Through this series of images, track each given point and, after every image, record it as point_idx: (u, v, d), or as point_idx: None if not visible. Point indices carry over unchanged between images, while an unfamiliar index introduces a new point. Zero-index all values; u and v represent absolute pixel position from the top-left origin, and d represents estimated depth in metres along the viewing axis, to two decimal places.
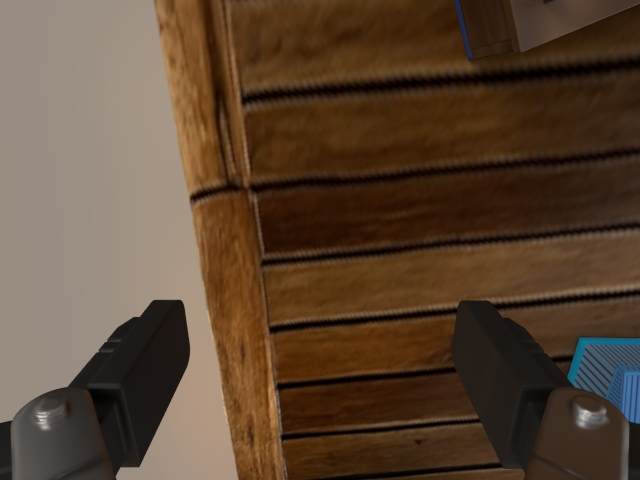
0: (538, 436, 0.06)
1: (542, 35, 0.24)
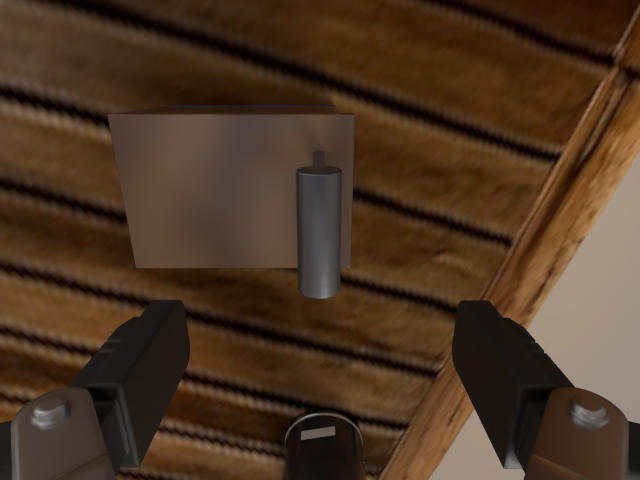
0: (538, 436, 0.06)
1: (330, 122, 0.23)
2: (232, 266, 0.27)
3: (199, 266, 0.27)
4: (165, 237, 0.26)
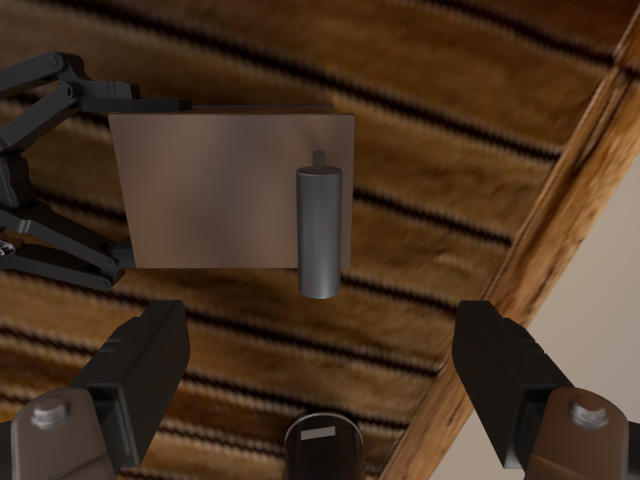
0: (538, 436, 0.06)
1: (331, 122, 0.23)
2: (232, 266, 0.27)
3: (199, 266, 0.27)
4: (165, 237, 0.26)
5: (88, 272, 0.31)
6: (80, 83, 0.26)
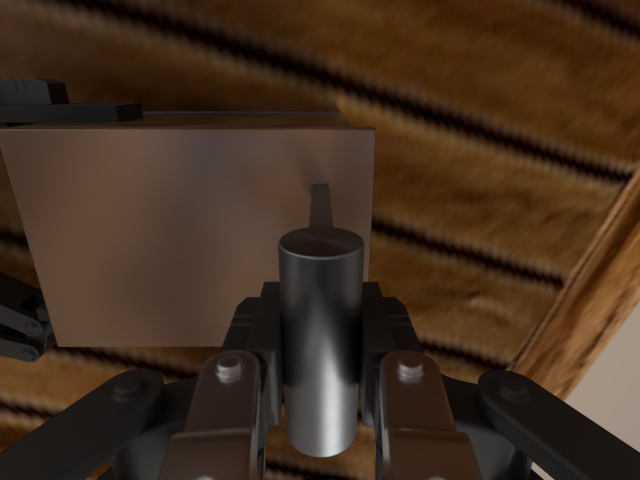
0: (384, 407, 0.07)
1: (338, 141, 0.15)
2: (196, 344, 0.19)
3: (148, 344, 0.19)
4: (96, 305, 0.18)
5: (7, 338, 0.23)
6: None
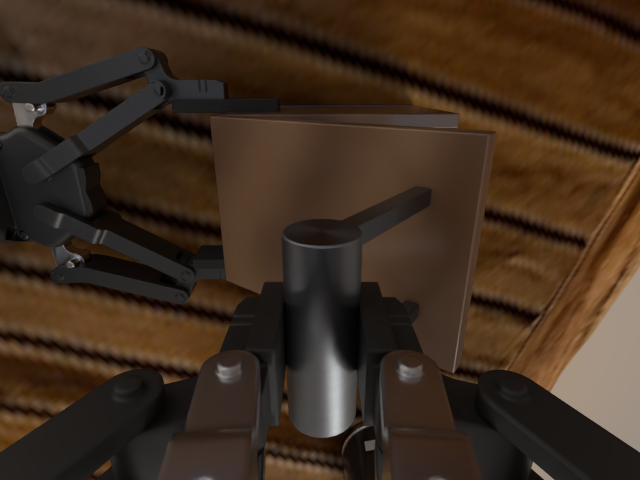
0: (384, 407, 0.07)
1: (446, 144, 0.14)
2: None
3: None
4: (248, 256, 0.23)
5: (164, 284, 0.29)
6: (169, 82, 0.24)
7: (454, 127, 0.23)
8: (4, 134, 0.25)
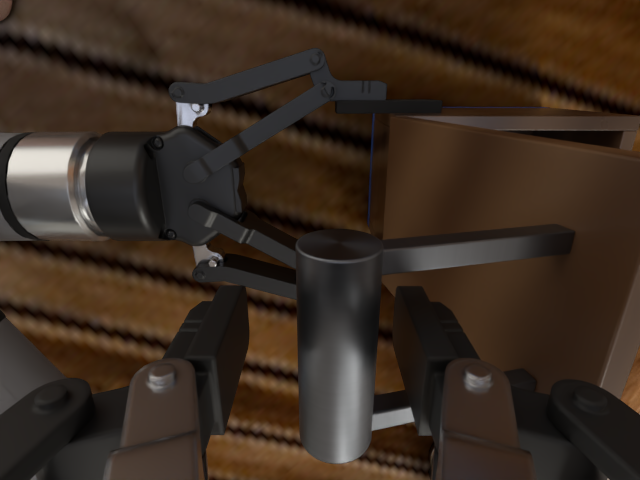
0: (444, 411, 0.07)
1: (604, 172, 0.10)
2: None
3: None
4: None
5: None
6: (333, 83, 0.24)
7: (633, 130, 0.23)
8: (166, 134, 0.25)
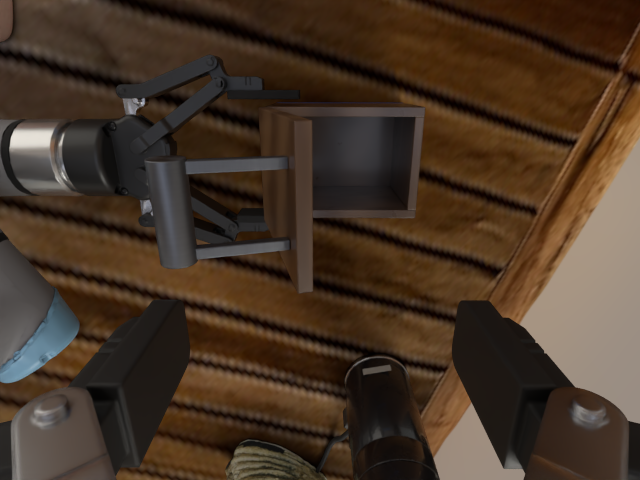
0: (538, 436, 0.06)
1: (288, 127, 0.22)
2: None
3: (271, 234, 0.33)
4: (266, 203, 0.34)
5: (216, 233, 0.41)
6: (225, 78, 0.36)
7: (422, 116, 0.34)
8: (118, 120, 0.37)
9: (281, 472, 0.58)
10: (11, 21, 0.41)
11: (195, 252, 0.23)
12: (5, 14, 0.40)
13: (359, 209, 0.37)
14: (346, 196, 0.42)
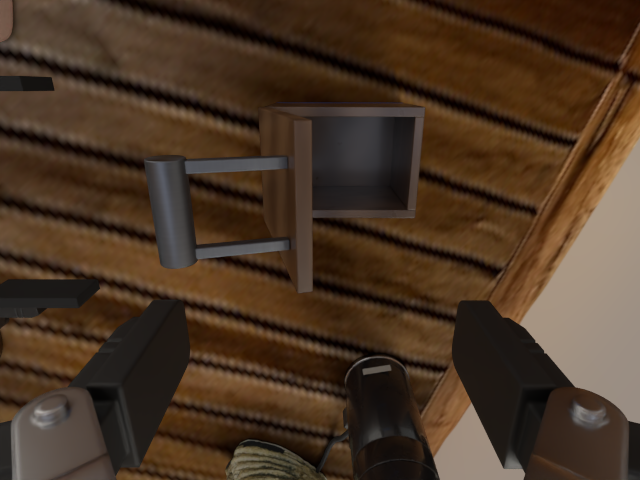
0: (538, 436, 0.06)
1: (288, 127, 0.22)
2: None
3: (271, 234, 0.33)
4: (266, 203, 0.34)
5: None
6: None
7: (422, 116, 0.34)
8: None
9: (281, 472, 0.58)
10: (11, 21, 0.41)
11: (195, 252, 0.23)
12: (5, 14, 0.40)
13: (359, 209, 0.37)
14: (345, 196, 0.42)
